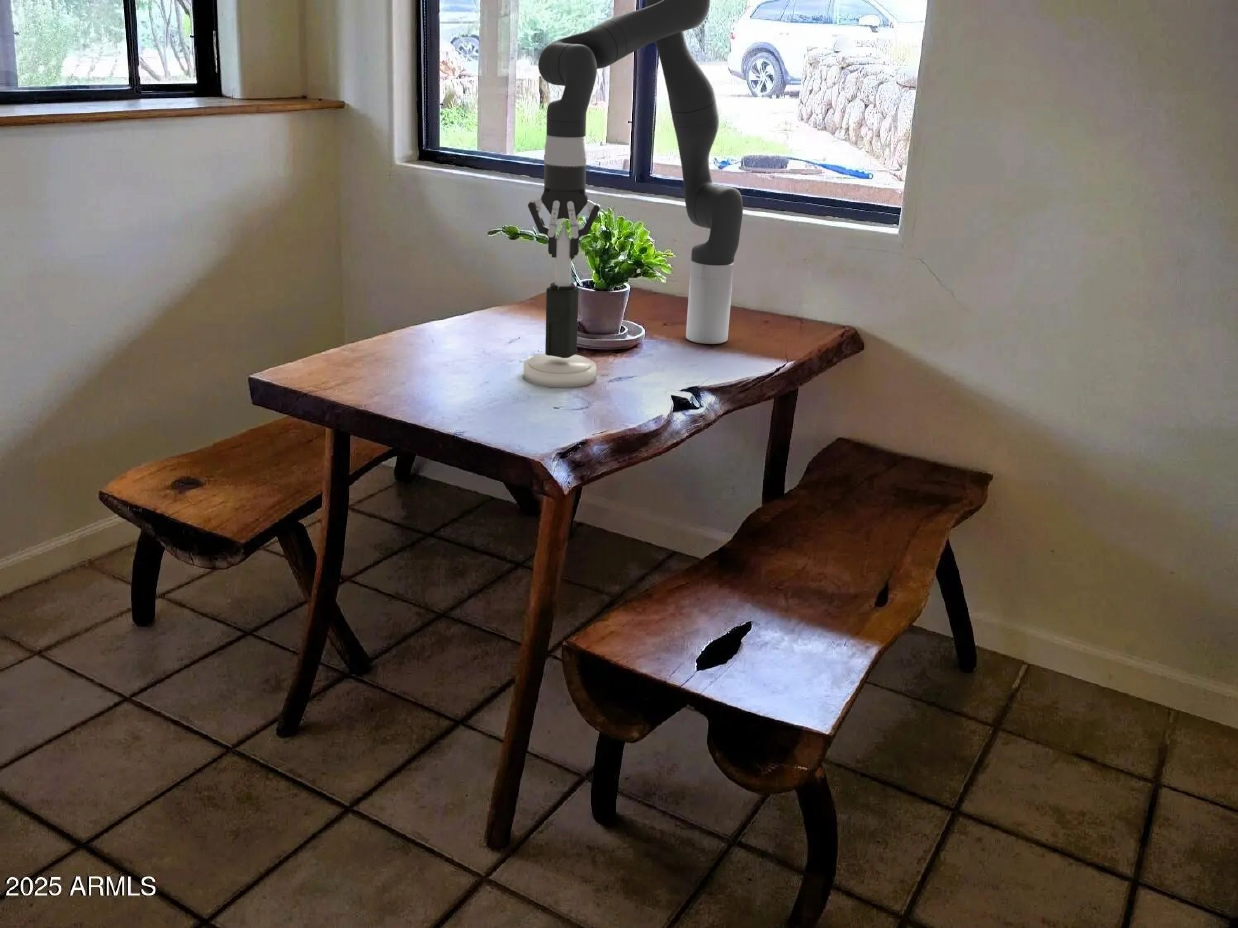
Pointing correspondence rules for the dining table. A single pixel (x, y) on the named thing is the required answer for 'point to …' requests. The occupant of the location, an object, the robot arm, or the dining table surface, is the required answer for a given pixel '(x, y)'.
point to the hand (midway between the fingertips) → (563, 256)
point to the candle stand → (559, 371)
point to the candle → (562, 304)
